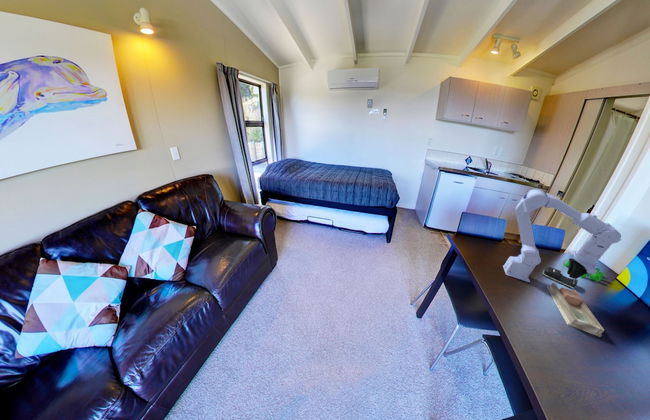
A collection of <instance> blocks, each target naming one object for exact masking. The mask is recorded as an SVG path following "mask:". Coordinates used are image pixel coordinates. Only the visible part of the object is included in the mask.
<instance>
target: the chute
mask: <svg viewBox="0 0 650 420" xmlns="http://www.w3.org/2000/svg"><path fill="white" fill-rule="evenodd" d="M546 289H547V291H548V292H549V294H550V296H551V298H552V299H553V301H554V303H555V306H557V309H558V310H559V312H560V314H561V316H562V317H563V319H564V321H565V323H566V324H567V326H569V327H573V328H575V329H577V330H581V331H584V332H586V333H588V334H590V335H594V336H597V337H598V338H601V337H602V336H603V335H602V334H603V332H604V331H605V329H604V327H603V326H602V325H601V324H600V322H599V321H598V319H597V318H596V317H595V315H594V314H593V312H592V311H591V310H590V308H589V306H587V304H586V303H585V301H584V299H582V297H581V299H582V301H581V303H580V304H579V305H578V306H576V305H573V304H570V303H567V301H566V300H565V298H564V297H563V295H562V293H561V292H560V290H559V289H560V288H559V287H558V286H557V283H554V282H552V283H551V284H550V286H546ZM571 290H572V291H575V292H577V290H576V289H571ZM577 293H578V292H577ZM578 295H579V296H580V294H579V293H578Z"/></svg>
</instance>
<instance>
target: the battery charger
mask: <svg viewBox="0 0 650 420" xmlns="http://www.w3.org/2000/svg"><path fill="white" fill-rule="evenodd" d="M561 272H562V271H561V270H559V269H557V268H555V267H552V266H547V267H545V269H544V270H543V271H542V276H543V277H545V278H547V279H549V280H551V281H553V282H556V283H558V284H561V285H563V286H564V287H566V288H568V289H570V290H572V289H573V290H575V288H576V286H577V285H578V281H579V279H578V278H577V279H574V278H570V277H567V276H565V275H564V274H563V273H561Z"/></svg>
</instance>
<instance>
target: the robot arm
mask: <svg viewBox="0 0 650 420" xmlns="http://www.w3.org/2000/svg"><path fill="white" fill-rule="evenodd" d="M519 200H520V201H519V202H518V203H517V205H516V206H515V208H514V209H515V211H514V212H515V217H516V220H517V226H518V231H519V236H520V241H521V249H520V254H518V255H517V256H512V255H510V256H509V257H508V258H507V260H506V262H505V263H504V265H502V267H503V270H504V273H505V275H506V276H510V277H512V278H515V279H518V280H520V281H524V282H527V283H531V279H530V278H529V276H530V275H531V273H532V272H533V271H534V269H535V268H536V266H537V265H538V266H539V265H540V264H541V261H542V258H541V257H540V251H539V249H538V248H537V247H536V244H535V243H536V242H535V238H534V232H533V226H532V222H531V216H530V215H531V213H532V212H533V211H535V210H538V209H540V208H542V207H544V208H546V209H550V208H551V209H552V208H553V209H556V210H557V211H559V212H561V213H562V214H565V215H566V216H568V218H569V217H570V218H571V219H572V222H573V224H575V225H576V226H577V227H579V228H580V229H583V230H584V231H585V232H587V233H589V234H591V236H590V237H589V238H588V239H587V240H586V242H585V243H584V244H583V245H582V247H581V248H580V249H579V251H577V250H573V251H572V252H571V256H572V257H573V258H571V257H570V258H568V260H569V267H567V271H566V274H567V275H568V276H569V277H568V278H571V279H577V280H578V278H581V277H582V275H584V274H587V273H588V274H589V273H590V274H591V275H593V274H595V273H596V272H597V270H596V267H599V263H598V262H599V260H600V259H601V257H602V256H604V254H605V253H606V252H607V250H609V248H610V247H611V246H612V245H613V244H617V243H619V242H620V241H622V239H621V238H622V234H621V232H620V231H618V230H617V229H616V228H615V227H614V226H613V225H611V223H608V222H604V221H603V220H601V219H599V218H598V216H597V215H596V214H594V213H592V214H591V213H588V212H580V211H579V210H577V209H575V208H574V207H572V206H571V205H569V204H567V203H566V202H564V201H563V200H561V199H560V198H558V197H556V196H554V195H552V194H550V193H549V192H545V191H544V190H543V189H540V188H532V189H531V190H530V189H529V190H528V191H527V192H526V193H524V194H523V196H522V197H521V198H520V199H519ZM588 274H587V275H588ZM590 274H589V275H590Z"/></svg>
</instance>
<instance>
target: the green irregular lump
mask: <svg viewBox="0 0 650 420" xmlns="http://www.w3.org/2000/svg"><path fill="white" fill-rule="evenodd" d="M565 262H566V263H565ZM562 263H563V265H564V266H565V267H567V268H569V259H566V260H564V261H563V262H562ZM596 270H597V272H596V273H595V274H590V273H587V274H584V275H582V276H581V278H586V277H587V276H588V277H589V279H590V280H591V281H593V282H595V281H597V282H600V281H601V280H602V281H604V280H605V279H607V275H606V273H605V272H602V271H601V269H600V268H599V267H598V266H596ZM588 274H589V275H588ZM604 276H605V277H604Z"/></svg>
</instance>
